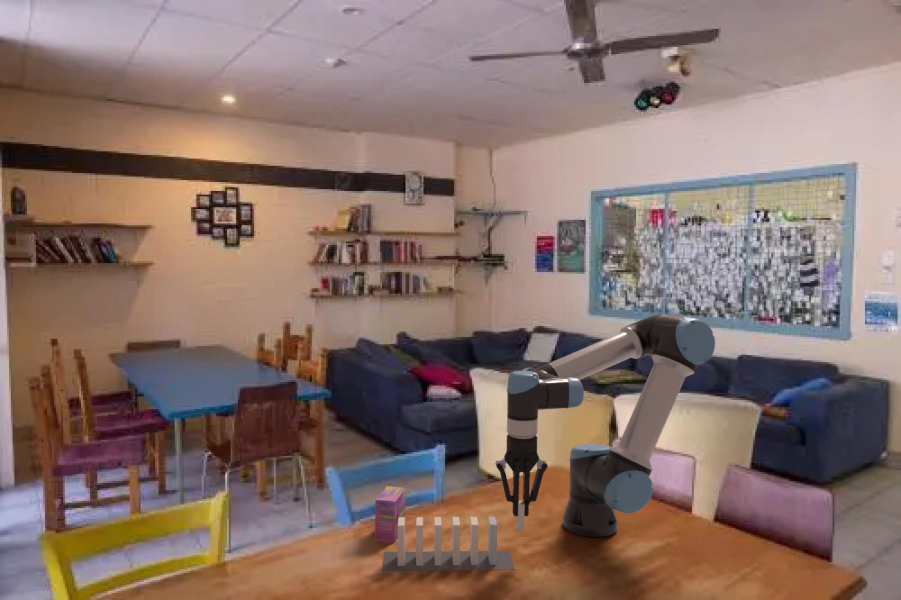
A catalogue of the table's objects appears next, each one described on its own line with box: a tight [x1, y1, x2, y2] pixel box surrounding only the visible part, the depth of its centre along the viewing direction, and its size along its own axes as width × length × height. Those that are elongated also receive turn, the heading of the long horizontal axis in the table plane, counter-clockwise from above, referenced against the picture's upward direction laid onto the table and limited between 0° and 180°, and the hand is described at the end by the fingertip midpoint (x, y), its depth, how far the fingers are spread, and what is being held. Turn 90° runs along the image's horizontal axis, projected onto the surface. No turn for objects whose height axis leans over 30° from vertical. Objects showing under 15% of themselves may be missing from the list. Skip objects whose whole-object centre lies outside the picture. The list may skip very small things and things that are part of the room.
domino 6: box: [487, 516, 498, 565], centre depth 157 cm, size 2×5×10 cm, turn 2°
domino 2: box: [415, 516, 424, 566], centre depth 156 cm, size 2×5×10 cm, turn 2°
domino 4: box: [451, 516, 461, 565], centre depth 157 cm, size 2×5×10 cm, turn 2°
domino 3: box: [433, 516, 443, 565], centre depth 156 cm, size 2×5×10 cm, turn 2°
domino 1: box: [397, 516, 406, 566], centre depth 156 cm, size 2×5×10 cm, turn 2°
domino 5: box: [469, 516, 479, 565], centre depth 157 cm, size 2×5×10 cm, turn 2°
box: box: [374, 485, 407, 543], centre depth 172 cm, size 10×6×12 cm, turn 168°
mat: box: [381, 550, 516, 572], centre depth 157 cm, size 32×10×1 cm, turn 92°
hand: (520, 528), depth 157 cm, fingers closed
